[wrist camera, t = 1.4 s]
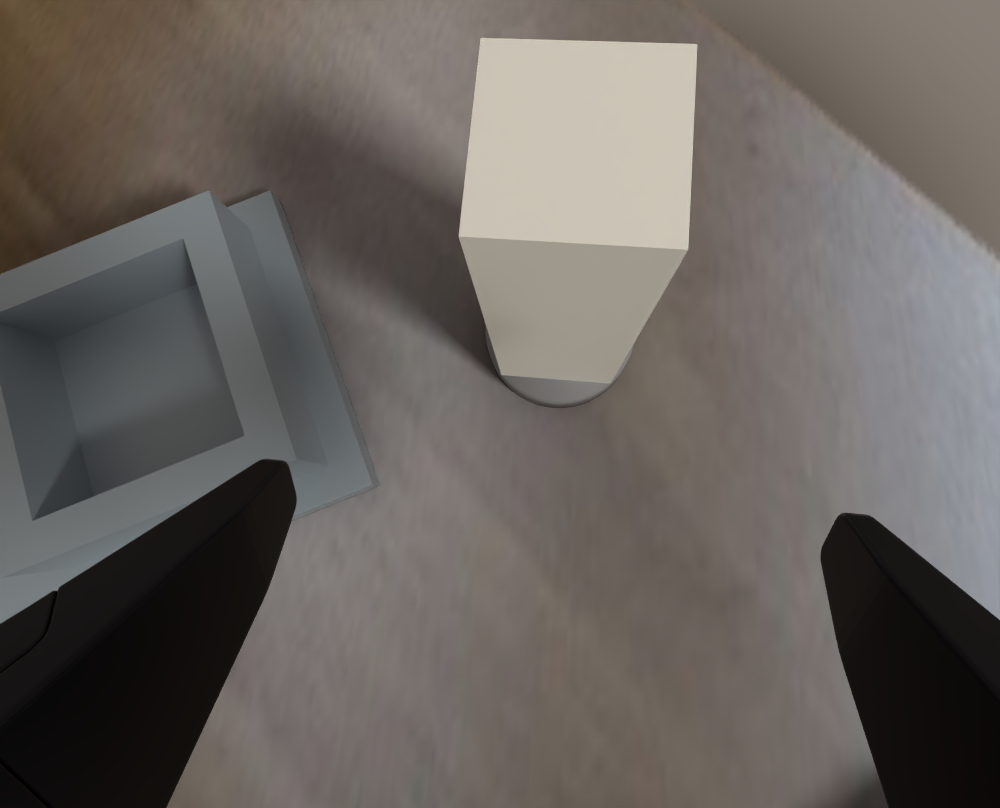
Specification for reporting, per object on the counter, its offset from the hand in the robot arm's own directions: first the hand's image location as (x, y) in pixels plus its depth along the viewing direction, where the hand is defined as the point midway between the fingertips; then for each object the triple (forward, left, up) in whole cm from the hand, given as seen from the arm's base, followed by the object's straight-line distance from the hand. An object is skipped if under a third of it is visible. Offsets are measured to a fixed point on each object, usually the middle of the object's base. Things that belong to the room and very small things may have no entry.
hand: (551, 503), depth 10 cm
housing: (-6, +16, -13) cm, 22 cm away
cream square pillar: (+6, +3, -13) cm, 14 cm away
